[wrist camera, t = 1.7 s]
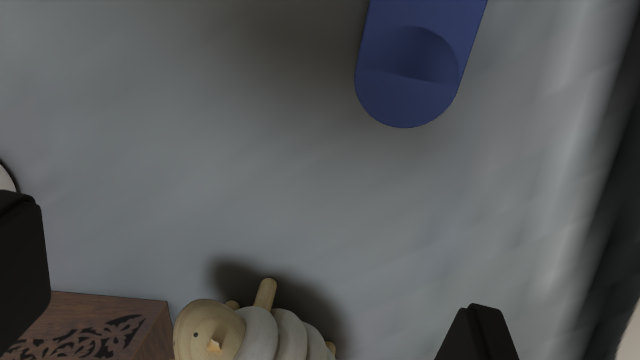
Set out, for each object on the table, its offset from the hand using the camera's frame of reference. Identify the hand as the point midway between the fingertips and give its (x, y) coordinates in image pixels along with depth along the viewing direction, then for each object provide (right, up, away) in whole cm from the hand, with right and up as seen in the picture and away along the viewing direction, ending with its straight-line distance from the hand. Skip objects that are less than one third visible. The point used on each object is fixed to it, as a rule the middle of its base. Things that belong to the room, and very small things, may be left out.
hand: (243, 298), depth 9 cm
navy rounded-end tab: (+7, +13, +13) cm, 19 cm away
